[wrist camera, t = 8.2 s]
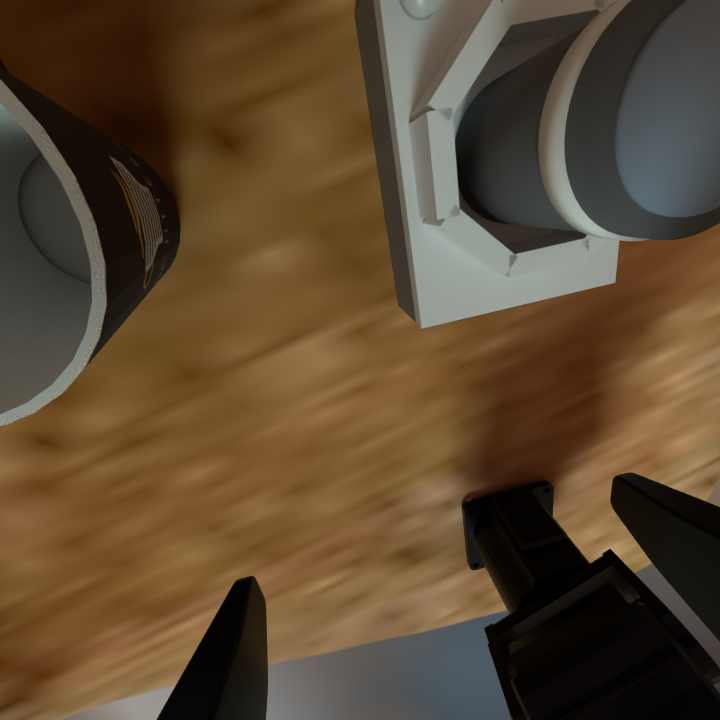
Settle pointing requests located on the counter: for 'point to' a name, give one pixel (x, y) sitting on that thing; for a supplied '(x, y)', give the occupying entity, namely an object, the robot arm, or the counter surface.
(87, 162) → the coffee mug
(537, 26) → the octagonal ring tray
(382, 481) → the counter surface
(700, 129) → the lens
